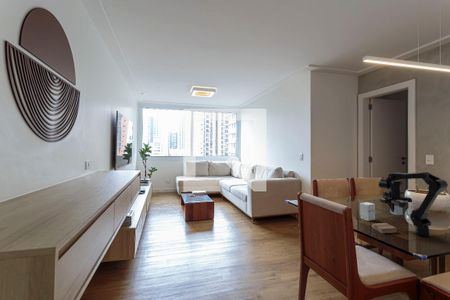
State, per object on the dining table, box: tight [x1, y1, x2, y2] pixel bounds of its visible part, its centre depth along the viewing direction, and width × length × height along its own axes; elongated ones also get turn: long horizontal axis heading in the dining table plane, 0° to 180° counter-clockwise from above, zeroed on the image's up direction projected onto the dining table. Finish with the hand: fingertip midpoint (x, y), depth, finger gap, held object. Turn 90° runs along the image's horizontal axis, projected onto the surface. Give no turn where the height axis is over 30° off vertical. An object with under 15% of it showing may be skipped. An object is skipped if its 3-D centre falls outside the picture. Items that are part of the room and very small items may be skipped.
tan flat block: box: [371, 222, 398, 234], centre depth 156 cm, size 10×10×3 cm
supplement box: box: [359, 201, 376, 222], centre depth 179 cm, size 7×7×13 cm
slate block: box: [389, 205, 404, 216], centre depth 159 cm, size 5×5×5 cm
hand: (396, 211), depth 159 cm, fingers closed on slate block, 5 cm apart
